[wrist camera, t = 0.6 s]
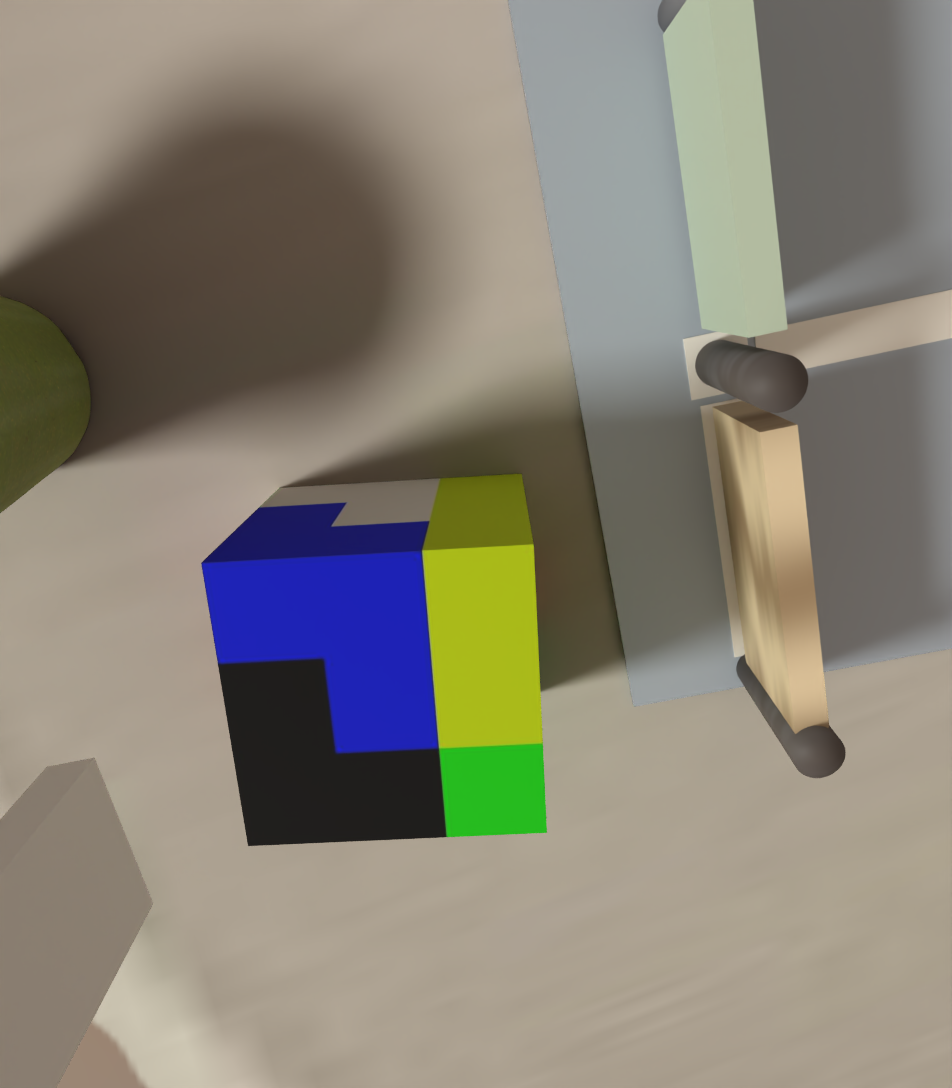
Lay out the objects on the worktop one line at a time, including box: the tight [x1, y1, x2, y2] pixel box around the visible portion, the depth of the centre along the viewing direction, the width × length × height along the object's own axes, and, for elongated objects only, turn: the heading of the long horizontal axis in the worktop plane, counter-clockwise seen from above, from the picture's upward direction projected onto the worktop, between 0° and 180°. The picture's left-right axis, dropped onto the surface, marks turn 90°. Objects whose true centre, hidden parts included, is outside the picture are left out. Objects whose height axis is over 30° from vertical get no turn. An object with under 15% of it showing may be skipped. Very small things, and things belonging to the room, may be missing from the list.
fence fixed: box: [695, 340, 845, 778], centre depth 31 cm, size 15×2×8 cm, turn 12°
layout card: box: [508, 0, 952, 707], centre depth 33 cm, size 28×18×1 cm, turn 12°
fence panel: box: [657, 0, 788, 338], centre depth 27 cm, size 11×1×6 cm, turn 12°
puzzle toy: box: [201, 474, 547, 846], centre depth 32 cm, size 10×10×10 cm
